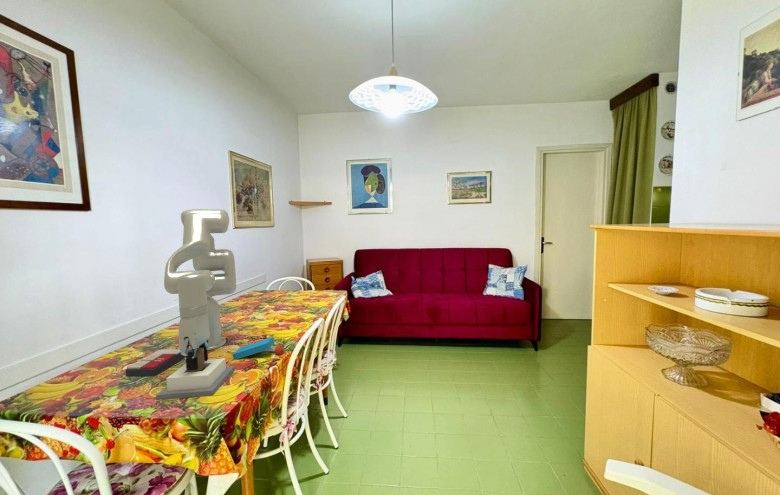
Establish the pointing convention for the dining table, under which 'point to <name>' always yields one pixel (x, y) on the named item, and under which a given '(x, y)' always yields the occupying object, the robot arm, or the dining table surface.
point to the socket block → (196, 380)
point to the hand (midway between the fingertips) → (197, 364)
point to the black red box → (155, 363)
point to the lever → (257, 348)
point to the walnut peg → (199, 359)
